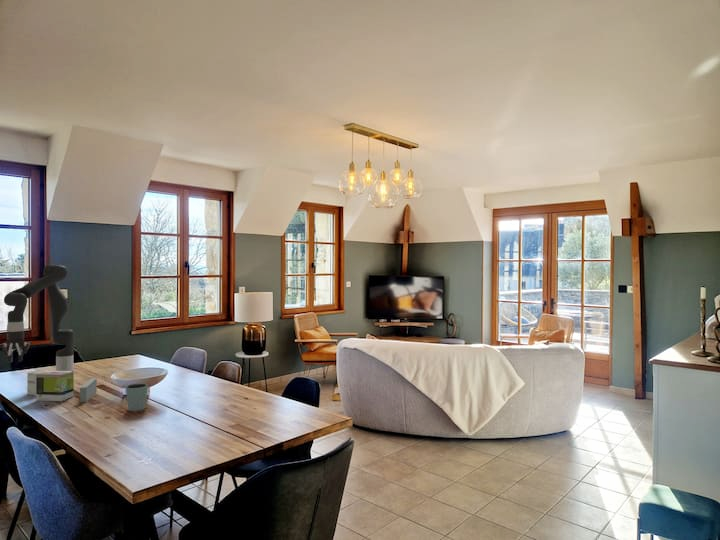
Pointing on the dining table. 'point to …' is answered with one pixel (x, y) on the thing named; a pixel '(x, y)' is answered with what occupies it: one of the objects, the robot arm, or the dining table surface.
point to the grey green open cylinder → (136, 396)
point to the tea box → (54, 385)
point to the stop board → (88, 390)
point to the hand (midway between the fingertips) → (15, 361)
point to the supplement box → (32, 382)
